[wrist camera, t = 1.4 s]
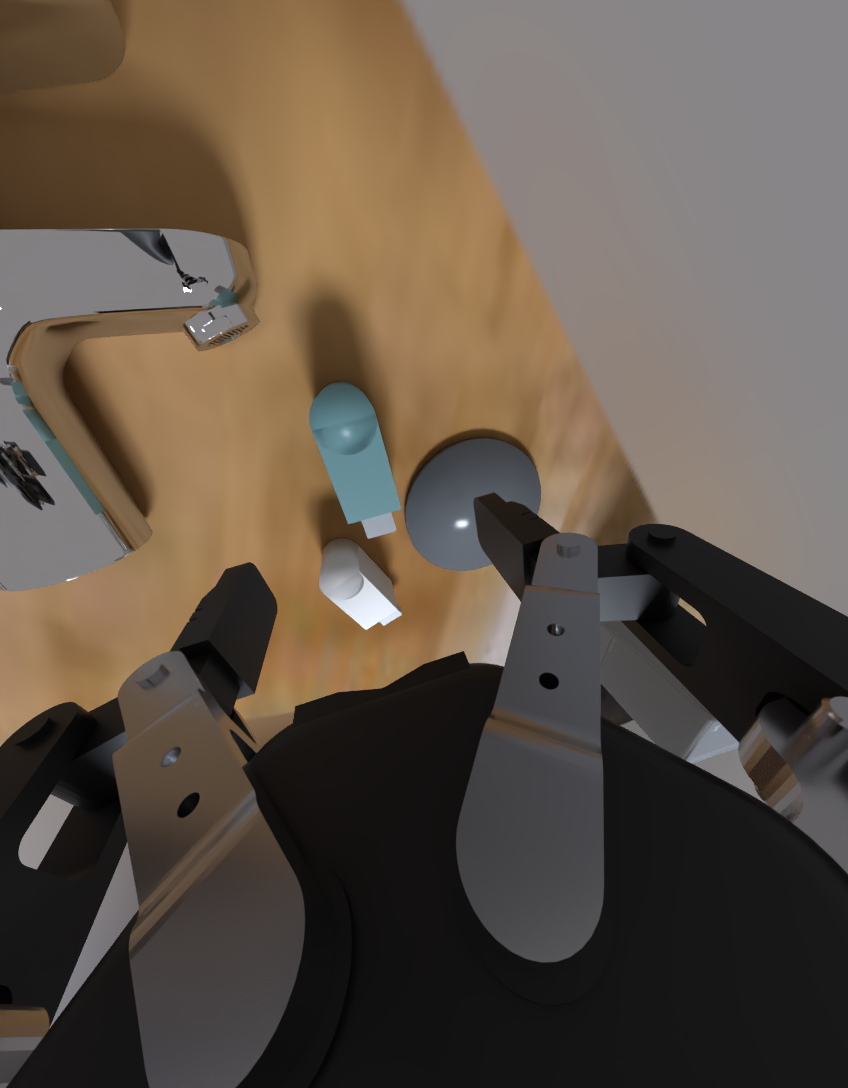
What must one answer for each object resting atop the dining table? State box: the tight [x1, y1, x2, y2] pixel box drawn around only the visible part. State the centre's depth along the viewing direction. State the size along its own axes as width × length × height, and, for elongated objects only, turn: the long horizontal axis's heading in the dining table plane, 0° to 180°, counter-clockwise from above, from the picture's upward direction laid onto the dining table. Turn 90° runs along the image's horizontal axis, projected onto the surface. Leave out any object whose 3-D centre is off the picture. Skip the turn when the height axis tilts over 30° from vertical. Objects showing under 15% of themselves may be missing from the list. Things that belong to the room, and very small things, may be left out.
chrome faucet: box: [0, 0, 260, 591], centre depth 15 cm, size 18×7×20 cm
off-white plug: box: [319, 538, 402, 630], centre depth 26 cm, size 9×3×4 cm, turn 32°
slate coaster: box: [405, 438, 541, 571], centre depth 27 cm, size 12×12×1 cm
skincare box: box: [600, 621, 739, 764], centre depth 30 cm, size 8×7×16 cm
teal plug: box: [309, 381, 401, 539], centre depth 21 cm, size 10×4×4 cm, turn 12°
